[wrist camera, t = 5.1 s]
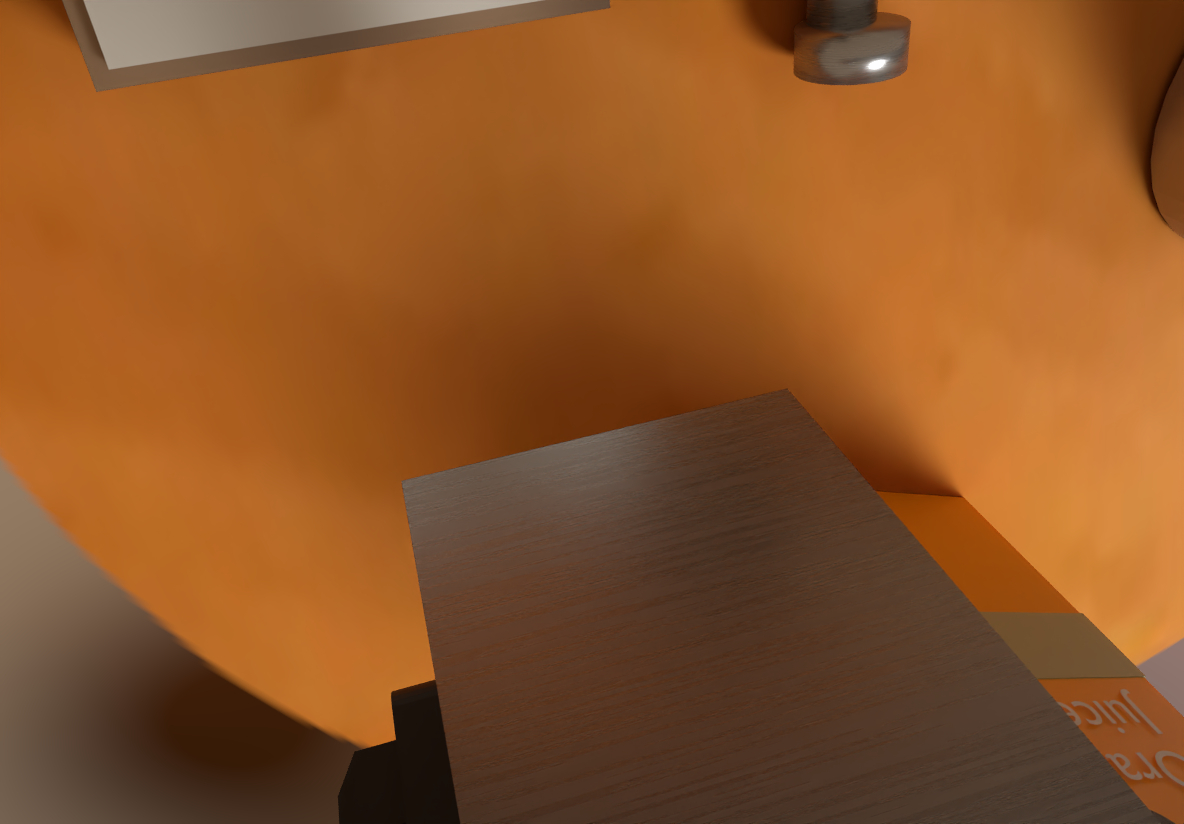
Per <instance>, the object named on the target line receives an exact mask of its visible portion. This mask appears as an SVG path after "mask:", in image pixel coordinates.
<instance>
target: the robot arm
mask: <svg viewBox="0 0 1184 824" xmlns="http://www.w3.org/2000/svg"><path fill="white" fill-rule="evenodd" d="M1151 174H1152V190H1153V193H1154V196H1155V199H1156V202H1157V205H1158V208H1159V211H1160V213H1161V215H1162V216H1163V218H1164V219H1165V220H1166V222H1167V223H1168V225H1169V226H1170V228H1171V229H1172V230H1173V231H1174V232H1176V233H1177V234H1178V235H1180V236H1181V237H1183V238H1184V58H1183V60H1182V63H1181V65H1180V67H1179V69H1178V71H1177V73H1176V75H1175V77H1174V79H1173V81H1172V83H1171V85H1170V87H1169V90H1168V92H1167V94H1166V97H1165V100H1164V103H1163V106H1162V109H1161V112H1160V116H1159V119H1158V122H1157V125H1156V128H1155V134H1154V141H1153V148H1152V156H1151ZM391 701H392V710H393V719H394V727H395V736H396V740H394V741H391V742H387V743H384V744H380V745H377V746H373V747H370V748H366V749H363V750H359V751H355V752H354V755H353V757H352V760H351V763H350V765H349V768H348V771H347V774H346V776H345V779H344V782H343V785H342V787H341V790H340V792H339V795H338V805H339V823H340V824H460V819H459V813H458V807H457V801H456V795H455V789H454V784H453V778H452V772H451V766H450V760H449V755H448V749H447V743H446V737H445V731H444V725H443V720H442V714H441V708H440V702H439V696H438V691H437V685H436V680H432V681H429V682H425V683H421V684H418V685H414V686H410V687H407V688H403V689H399V690H396V691H392V693H391ZM1150 811H1151V812H1152V813H1153V815H1154V816H1155V817H1156V818H1157V819H1158V820H1159V822H1160V823H1161V824H1175V823H1174V822H1172V821H1171V820H1169V819H1167V818H1166V817H1164V816H1162V815H1160V814H1158V813H1156V812H1154V811H1152V810H1150Z"/></svg>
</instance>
